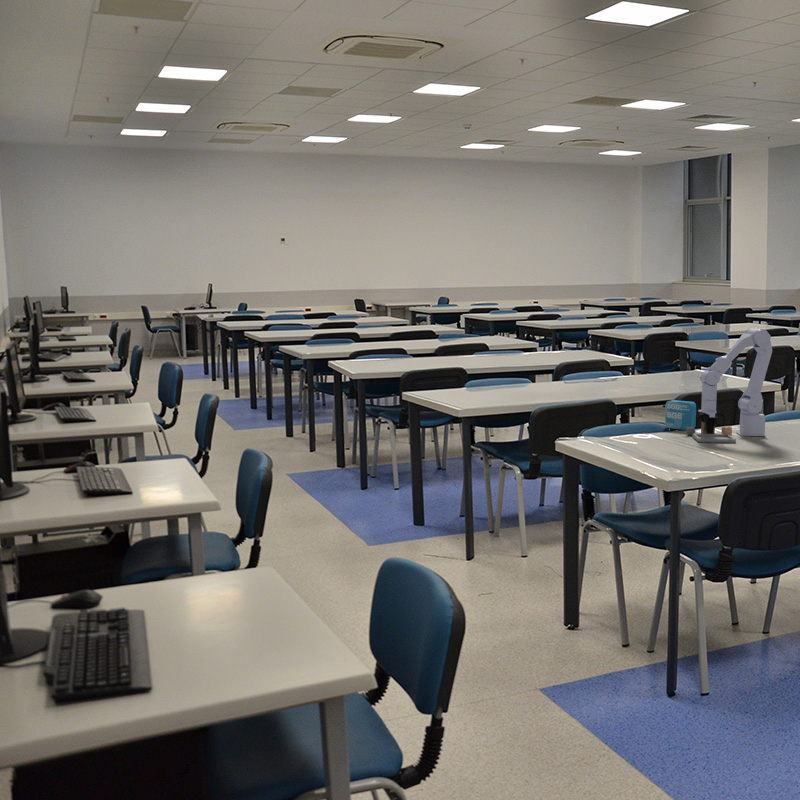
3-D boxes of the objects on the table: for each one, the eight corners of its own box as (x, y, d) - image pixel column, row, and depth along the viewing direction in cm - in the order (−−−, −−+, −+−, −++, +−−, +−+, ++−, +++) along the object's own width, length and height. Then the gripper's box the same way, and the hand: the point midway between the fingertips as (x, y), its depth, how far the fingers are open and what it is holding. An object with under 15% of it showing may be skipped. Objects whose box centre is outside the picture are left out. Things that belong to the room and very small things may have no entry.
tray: (728, 437, 339) (728, 434, 339) (735, 443, 327) (735, 439, 327) (692, 437, 341) (692, 433, 341) (698, 442, 329) (698, 438, 329)
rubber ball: (693, 434, 347) (694, 426, 347) (695, 436, 344) (695, 427, 343) (685, 434, 348) (685, 426, 347) (686, 435, 344) (686, 427, 344)
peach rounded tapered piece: (730, 435, 343) (730, 426, 343) (732, 437, 340) (733, 427, 339) (720, 435, 344) (720, 426, 344) (722, 437, 340) (722, 427, 340)
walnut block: (712, 434, 347) (712, 421, 346) (714, 436, 342) (715, 423, 342) (700, 434, 347) (701, 421, 347) (703, 436, 343) (703, 423, 342)
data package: (664, 427, 365) (665, 400, 364) (669, 426, 368) (670, 399, 367) (690, 430, 357) (691, 403, 355) (695, 429, 360) (696, 402, 358)
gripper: (695, 397, 350) (694, 429, 352) (702, 401, 336) (701, 434, 338) (712, 397, 349) (711, 429, 351) (720, 402, 335) (719, 435, 337)
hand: (707, 432), depth 345 cm, fingers open, 6 cm apart
